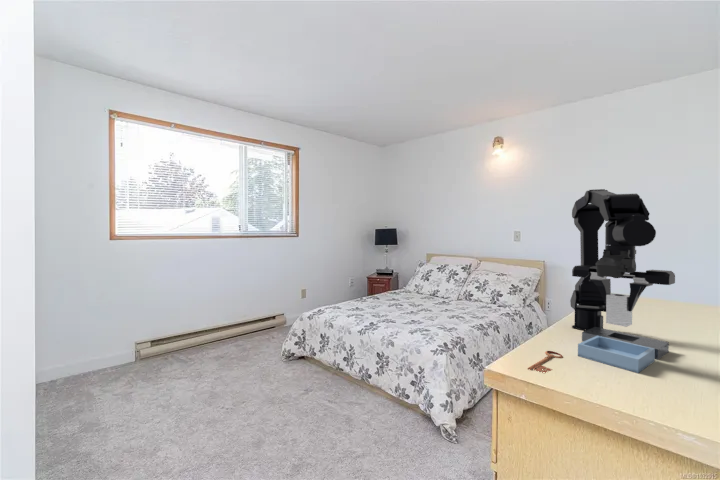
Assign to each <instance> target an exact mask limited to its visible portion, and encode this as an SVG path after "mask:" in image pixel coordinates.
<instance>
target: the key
mask: <svg viewBox="0 0 720 480" xmlns="http://www.w3.org/2000/svg"><path fill="white" fill-rule="evenodd" d="M545 355H546V356H545V357H544V358H542V359H540V360H539V361H537V362H535V363H534V364H532V365H530V366H529V367H527V370H529V369H530V371H535V370H536V371H535V372H538V371H539V372H538V373H541V372H542V373H541V374H546V372H547V373H548V372H551V371H553V369H552V368H549V367H546V366H544V365H543V364H544V363H547V362H548V361H550V360H551V359H552V358H554V359H555V358H556V359H563V358H564V355H562V354H561V353H558V352H557V351H552V350H546V351H545ZM557 355H558V356H557ZM535 368H536V369H535ZM532 369H534V370H532ZM542 369H543V370H542ZM543 372H545V373H543Z"/></svg>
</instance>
